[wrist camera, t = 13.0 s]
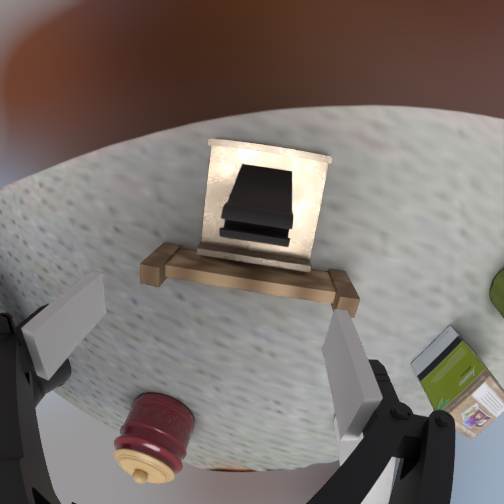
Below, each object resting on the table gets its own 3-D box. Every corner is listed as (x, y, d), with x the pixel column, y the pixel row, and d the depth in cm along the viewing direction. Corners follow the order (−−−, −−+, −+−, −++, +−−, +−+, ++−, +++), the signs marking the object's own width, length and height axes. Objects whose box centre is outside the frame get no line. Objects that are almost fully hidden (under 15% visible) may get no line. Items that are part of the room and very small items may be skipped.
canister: (124, 391, 51) (88, 456, 34) (180, 390, 49) (152, 468, 32) (151, 430, 54) (127, 492, 38) (204, 431, 52) (187, 501, 36)
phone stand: (242, 163, 34) (226, 169, 23) (292, 171, 34) (301, 181, 23) (232, 235, 37) (214, 272, 26) (280, 242, 37) (281, 284, 26)
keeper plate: (202, 246, 39) (196, 254, 36) (214, 139, 34) (208, 138, 32) (307, 263, 39) (309, 272, 36) (328, 156, 34) (332, 157, 31)
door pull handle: (163, 259, 40) (140, 283, 33) (163, 242, 39) (139, 264, 32) (341, 287, 40) (354, 317, 32) (345, 271, 39) (360, 299, 31)
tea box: (479, 356, 42) (514, 403, 29) (444, 390, 46) (470, 442, 32) (449, 322, 40) (492, 376, 26) (408, 363, 43) (437, 425, 29)
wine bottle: (324, 423, 49) (336, 562, 21) (349, 393, 46) (379, 547, 18) (363, 429, 50) (387, 555, 21) (390, 400, 47) (430, 535, 18)
